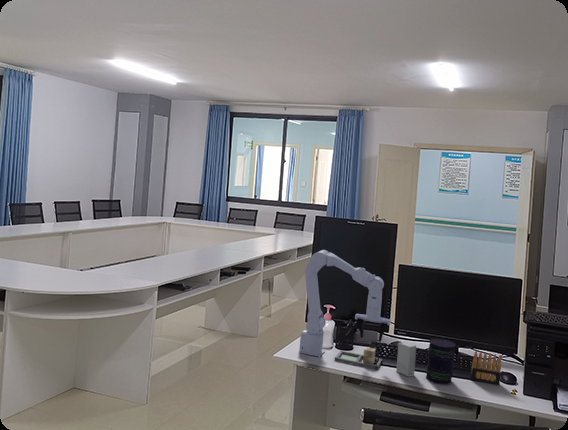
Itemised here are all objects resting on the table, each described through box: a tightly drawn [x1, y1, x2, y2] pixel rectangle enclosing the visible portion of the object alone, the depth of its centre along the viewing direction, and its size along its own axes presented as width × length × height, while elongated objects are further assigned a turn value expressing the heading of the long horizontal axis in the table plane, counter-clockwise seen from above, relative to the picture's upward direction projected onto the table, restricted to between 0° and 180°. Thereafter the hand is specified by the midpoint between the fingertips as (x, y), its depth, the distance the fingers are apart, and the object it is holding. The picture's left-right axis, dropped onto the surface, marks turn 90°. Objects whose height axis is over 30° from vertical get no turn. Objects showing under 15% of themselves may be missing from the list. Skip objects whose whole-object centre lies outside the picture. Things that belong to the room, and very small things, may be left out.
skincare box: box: [395, 341, 417, 377], centre depth 207 cm, size 6×4×12 cm
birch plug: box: [362, 346, 377, 365], centre depth 215 cm, size 4×4×6 cm
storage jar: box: [425, 338, 456, 386], centre depth 203 cm, size 10×10×15 cm
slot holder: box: [334, 350, 383, 370], centre depth 217 cm, size 18×10×1 cm, turn 69°
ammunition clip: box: [470, 350, 502, 386], centre depth 205 cm, size 11×2×12 cm, turn 72°
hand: (370, 338), depth 215 cm, fingers open, 7 cm apart
